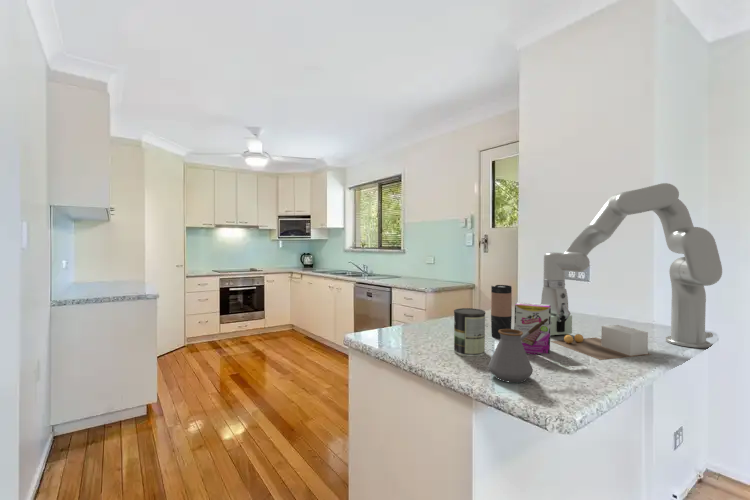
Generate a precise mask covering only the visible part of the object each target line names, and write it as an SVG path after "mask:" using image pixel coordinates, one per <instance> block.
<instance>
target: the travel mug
mask: <svg viewBox="0 0 750 500" xmlns="http://www.w3.org/2000/svg"><path fill="white" fill-rule="evenodd" d="M490 288H491V289H490V290H491V293H490V295H491V296H490V300H491V301H490V303H491V304H490V322H491V323H490V324H491V325H490V327H491V328H490V329H491V331H490V332H491V337H492V338H494V339H498V340H500V339H501V337H500V333H499V332H498V330H500V329H512V317H513V316H512V311H513V310H512V306H513V305H512V299H513V297H512V294H513V293H512V291H513V290H512V285H507V284H496V285H495V286H493V285H491V287H490Z"/></svg>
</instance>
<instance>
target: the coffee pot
mask: <svg viewBox="0 0 750 500" xmlns="http://www.w3.org/2000/svg"><path fill="white" fill-rule="evenodd" d="M547 321H548V318H547V319H544V321H541V322H540V323H539V324H537V325H535V326H534V327H533V328H532V329H530V330H529V331H528V332H527V333H526V334H524V335H523V332H522V331H519V330H515V329H514V328H511V329H500V330H498V332H499V333H500V337H501V339H499V341H498V343H497V345H496V348H495V349H494V352H493V355H492V356H491V358H490V361H489V363H488V369H489V371H490V373H491V374H492V375H493V376H495V378H496V377H497V378H499V379H501V380H504V381H509V382H521V383H523V382H522V381H524V380H525V381H526V380H528V379H529V378H530V377H531V376H532V374H533V369H534V368H533V367H532V364H531V362H530V359H529V357H528V355H527V354H526V352H525V350H524V347H523V345H522V343H521V341H522V340H523V339H524V338H525V337H527V336H528V335H530V334H531V333H533V332H534V331H536V330H537V329H539V328H540V327H541V326H542V325H544V324H545V323H546V322H547ZM549 321H550V320H549ZM550 322H551V321H550ZM546 324H547V323H546ZM551 324H552V322H551ZM551 324H548V325H551ZM521 335H523V336H521ZM497 378H496V379H497ZM499 379H498V380H499ZM501 380H500V381H501ZM504 381H503V382H504ZM525 381H524V382H525ZM509 382H508V383H509Z"/></svg>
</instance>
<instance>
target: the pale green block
mask: <svg viewBox="0 0 750 500" xmlns="http://www.w3.org/2000/svg"><path fill="white" fill-rule="evenodd" d="M560 317H562V316H561V315H560ZM557 321H558V319H557V316H556V314H553V313H551V322H552V324H551V325H550V336H555V335H556V336H559V335H571V334H572V333H573V315H572V314H570V315H569V317H568V319H567V320H566V322H565V331H564V332H557Z"/></svg>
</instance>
